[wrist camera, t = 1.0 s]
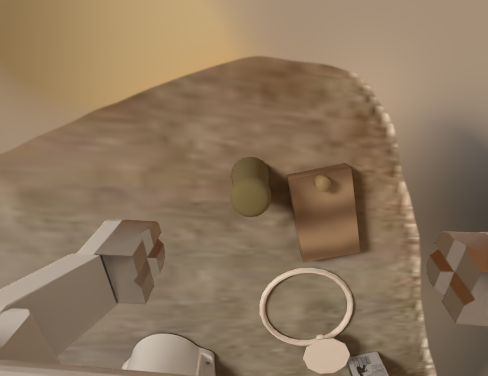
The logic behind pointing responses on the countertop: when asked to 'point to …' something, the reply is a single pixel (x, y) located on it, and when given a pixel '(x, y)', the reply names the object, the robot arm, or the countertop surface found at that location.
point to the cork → (250, 187)
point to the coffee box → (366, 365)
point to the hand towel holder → (323, 346)
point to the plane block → (324, 212)
